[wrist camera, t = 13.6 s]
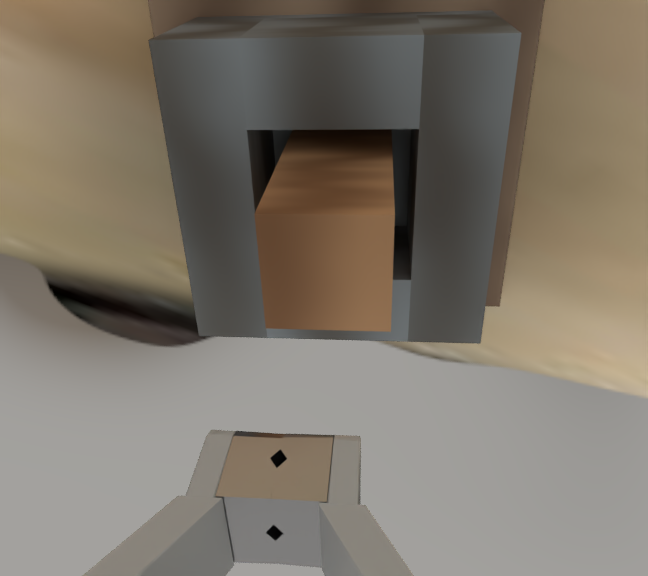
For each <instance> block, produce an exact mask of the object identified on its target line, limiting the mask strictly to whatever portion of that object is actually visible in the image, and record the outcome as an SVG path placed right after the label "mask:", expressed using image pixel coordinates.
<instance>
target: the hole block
mask: <svg viewBox="0 0 648 576" xmlns="http://www.w3.org/2000/svg"><path fill="white" fill-rule="evenodd" d="M544 1H545V0H148V4H149V10H150V16H151V22H152V28H153V34H154V38H152V39H150V40H149V46H150V51H151V57H152V63H153V69H154V75H155V81H156V87H157V92H158V98H159V104H160V110H161V116H162V122H163V127H164V133H165V139H166V145H167V151H168V157H169V162H170V168H171V174H172V180H173V186H174V192H175V197H176V203H177V209H178V215H179V221H180V227H181V233H182V238H183V244H184V250H185V256H186V262H187V268H188V273H189V279H190V285H191V291H192V297H193V303H194V308H195V314H196V320H197V326H198V332H199V336H221V337H258V338H296V339H335V340H370V341H407V342H445V343H480V342H481V335H482V327H483V320H484V312H485V306H500V299H501V293H502V286H503V279H504V272H505V265H506V259H507V252H508V245H509V238H510V231H511V225H512V218H513V211H514V204H515V197H516V191H517V184H518V177H519V170H520V163H521V157H522V150H523V143H524V136H525V130H526V123H527V116H528V109H529V102H530V96H531V89H532V82H533V75H534V68H535V62H536V55H537V48H538V41H539V34H540V28H541V21H542V14H543V7H544ZM347 129H392V153H393V179H394V204H395V227H394V256H393V285H392V313H391V332H383V331H344V330H304V329H266V326H265V316H264V306H263V296H262V286H261V276H260V266H259V256H258V246H257V236H256V225H255V215H254V214H255V212H256V209H257V207H258V205H259V203H260V201H261V198H262V196H263V194H264V192H265V190H266V187H267V185H268V183H269V181H270V179H271V176H272V174H273V172H274V170H275V168H276V165H277V163H278V161H279V159H280V157H281V154H282V152H283V150H284V148H285V145H286V143H287V141H288V139H289V137H290V134H291V132H292V130H347Z"/></svg>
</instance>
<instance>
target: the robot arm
mask: <svg viewBox="0 0 648 576" xmlns="http://www.w3.org/2000/svg"><path fill="white" fill-rule="evenodd" d="M360 467H361V439H360V436H343V435H342V436H341V435H335V436H334V435H309V434H272V433H258V432H243V431H221V430H211V431H210V432H209V434H208V435H207V437H206V439H205V442H204V445H203V448H202V450H201V453H200V456H199V459H198V462H197V465H196V468H195V470H194V473H193V476H192V479H191V482H190V485H189V487H188V491H187V493H186V496H177V497H176V498H175V499H174V500H172V501H171V502H170V503H169V504H168V505H166V506H165V507H164V508H163V509H162V510H160V511H159V512H158V513H157V514H156V515H154V516H153V517H152V518H151V519H150V520H149V521H147V522H146V523H145V524H144V525H143V526H142V527H140V528H139V529H138V530H137V531H135V532H134V533H133V534H132V535H131V536H130V537H128V538H127V539H126V540H125V541H123V542H122V543H121V544H120V545H119V546H117V547H116V548H115V549H114V550H113V551H111V552H110V553H109V554H108V555H107V556H105V557H104V558H103V559H102V560H101V561H100V562H98V563H97V564H96V565H95V566H94V567H92V568H91V569H90V570H89V571H88V572H86V573H85V574H84V575H83V576H225V575H226V574H227V573H228V572H229V571H230V569H231V568H232V567H233V566H234V562H241V563H242V562H243V563H273V564H287V565H299V566H310V567H321V568H322V570H323V573H324V575H325V576H413V574H412V573H411V571H410V570H409V568H408V567H407V565H406V564H405V562H404V561H403V559H402V558H401V557H400V555H399V554H398V552H397V551H396V549H395V548H394V547H393V545H392V544H391V542H390V540H389V539H388V538H387V536H386V535H385V533H384V532H383V530H382V529H381V527H380V526H379V524H378V523H377V522H376V520H375V519H374V517H373V516H372V514H371V513H370V511H369V510H368V508H367V507H366V506H365V505H360V474H361V468H360Z"/></svg>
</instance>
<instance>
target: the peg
mask: <svg viewBox="0 0 648 576" xmlns="http://www.w3.org/2000/svg"><path fill="white" fill-rule="evenodd" d="M254 215H255V225H256V236H257V246H258V256H259V266H260V276H261V286H262V296H263V306H264V316H265V326H266V329H304V330H344V331H383V332H391V313H392V285H393V256H394V227H395V204H394V179H393V153H392V129H347V130H292V132H291V134H290V137H289V139H288V141H287V143H286V145H285V148H284V150H283V152H282V154H281V157H280V159H279V161H278V163H277V165H276V168H275V170H274V172H273V174H272V176H271V179H270V181H269V183H268V185H267V187H266V190H265V192H264V194H263V196H262V198H261V201H260V203H259V205H258V207H257V209H256V212H255V214H254Z"/></svg>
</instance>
